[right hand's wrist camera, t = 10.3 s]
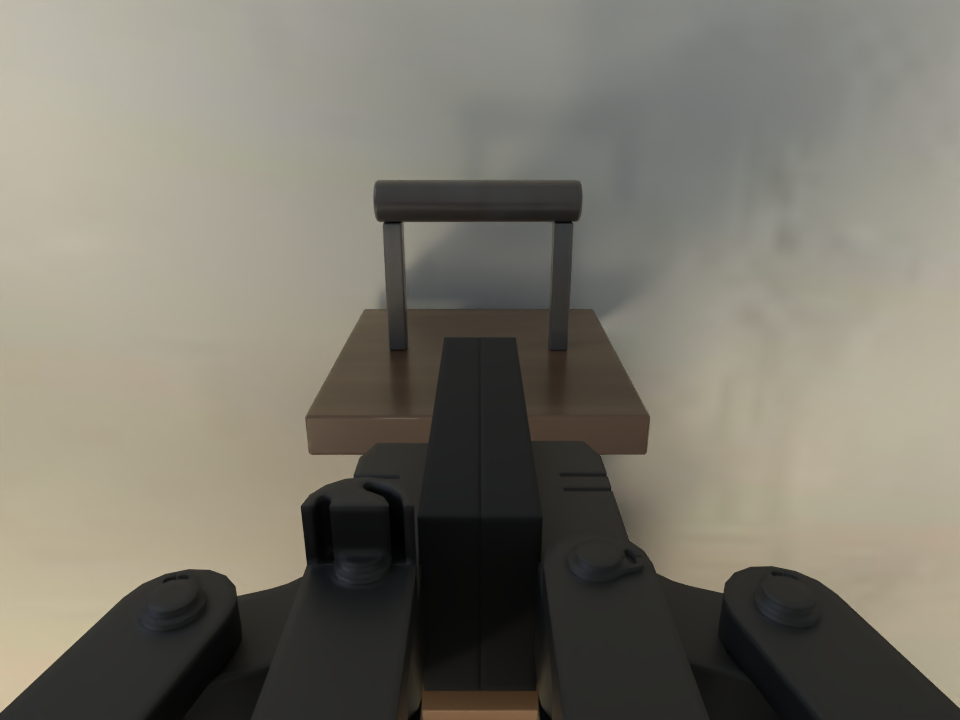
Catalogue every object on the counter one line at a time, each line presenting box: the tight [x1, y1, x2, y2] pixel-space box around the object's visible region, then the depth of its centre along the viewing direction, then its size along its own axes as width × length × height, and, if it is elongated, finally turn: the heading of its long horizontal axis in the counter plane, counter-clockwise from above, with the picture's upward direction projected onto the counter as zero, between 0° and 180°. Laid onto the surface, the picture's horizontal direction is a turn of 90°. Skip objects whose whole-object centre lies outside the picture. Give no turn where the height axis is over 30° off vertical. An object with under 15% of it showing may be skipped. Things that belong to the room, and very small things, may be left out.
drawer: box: [305, 180, 650, 683], centre depth 25 cm, size 21×9×10 cm, turn 0°
